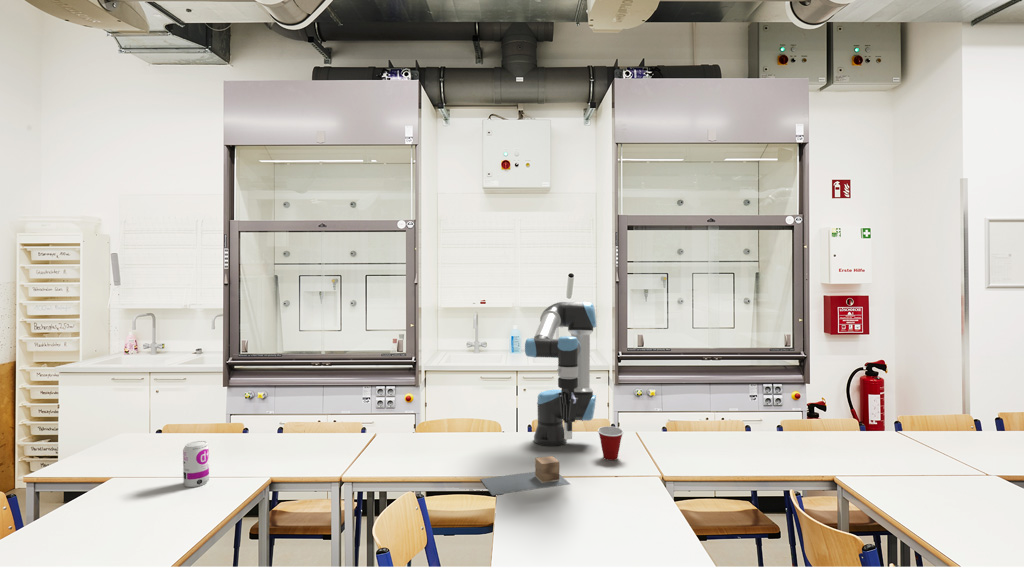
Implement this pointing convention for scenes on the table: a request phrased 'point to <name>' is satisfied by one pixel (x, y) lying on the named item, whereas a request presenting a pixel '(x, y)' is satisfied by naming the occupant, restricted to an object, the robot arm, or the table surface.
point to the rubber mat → (518, 483)
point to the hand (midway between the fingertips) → (568, 438)
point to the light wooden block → (547, 469)
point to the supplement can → (196, 464)
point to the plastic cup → (610, 441)
